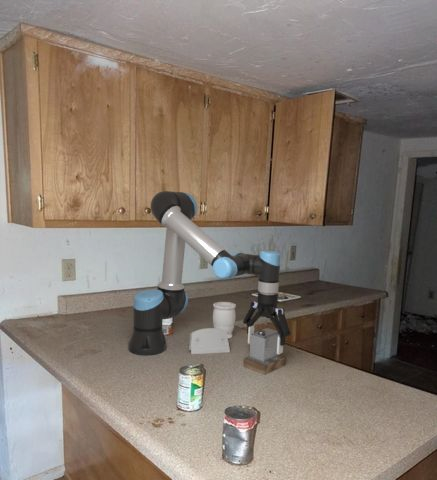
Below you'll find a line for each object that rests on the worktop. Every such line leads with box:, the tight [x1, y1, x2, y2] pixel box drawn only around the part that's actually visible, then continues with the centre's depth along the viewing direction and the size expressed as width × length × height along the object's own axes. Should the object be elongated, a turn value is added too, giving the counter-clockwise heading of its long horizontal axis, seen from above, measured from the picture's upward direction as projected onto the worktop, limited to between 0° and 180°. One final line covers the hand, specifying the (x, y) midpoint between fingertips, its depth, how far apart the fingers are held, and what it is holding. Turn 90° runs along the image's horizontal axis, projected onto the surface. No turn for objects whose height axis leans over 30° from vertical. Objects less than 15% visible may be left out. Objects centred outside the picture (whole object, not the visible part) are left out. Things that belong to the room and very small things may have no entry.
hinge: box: [188, 327, 231, 355], centre depth 158 cm, size 17×5×10 cm, turn 103°
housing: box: [249, 327, 281, 363], centre depth 144 cm, size 6×10×11 cm, turn 136°
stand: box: [242, 354, 287, 376], centre depth 144 cm, size 13×10×3 cm
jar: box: [212, 301, 237, 340], centre depth 175 cm, size 11×10×15 cm
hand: (264, 347), depth 144 cm, fingers open, 13 cm apart
